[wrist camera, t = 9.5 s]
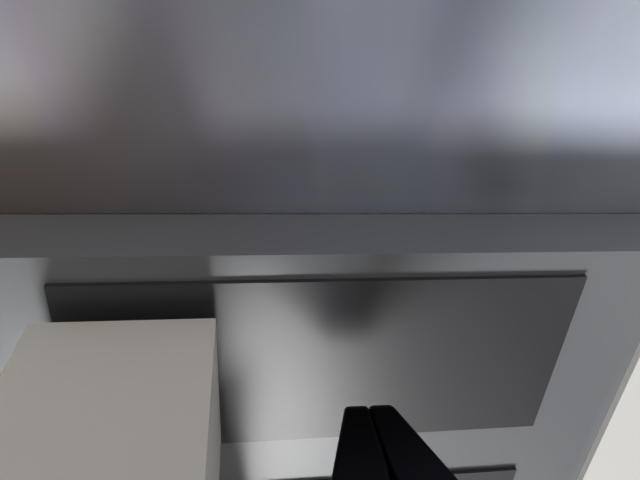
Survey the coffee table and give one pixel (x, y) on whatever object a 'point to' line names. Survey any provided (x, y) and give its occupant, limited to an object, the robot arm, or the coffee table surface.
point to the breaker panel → (371, 327)
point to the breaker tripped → (112, 402)
